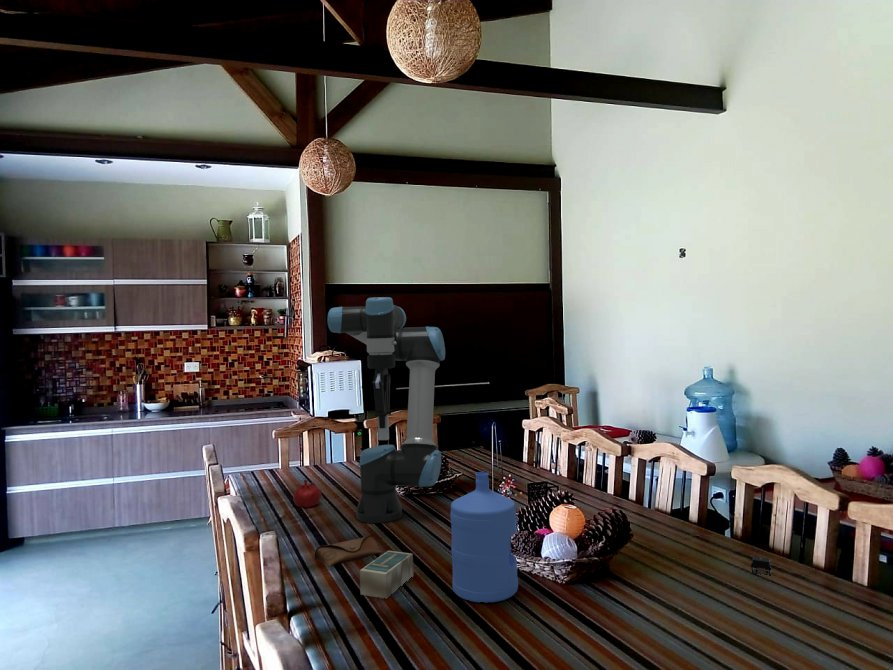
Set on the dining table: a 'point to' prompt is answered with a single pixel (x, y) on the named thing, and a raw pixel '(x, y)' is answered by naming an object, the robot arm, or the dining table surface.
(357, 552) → the sunglasses case
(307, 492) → the pomegranate
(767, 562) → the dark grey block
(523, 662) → the dining table surface
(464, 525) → the water jug
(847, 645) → the dining table surface
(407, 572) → the cream and teal box
